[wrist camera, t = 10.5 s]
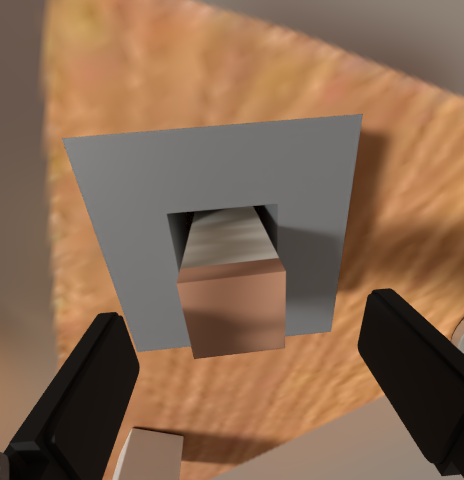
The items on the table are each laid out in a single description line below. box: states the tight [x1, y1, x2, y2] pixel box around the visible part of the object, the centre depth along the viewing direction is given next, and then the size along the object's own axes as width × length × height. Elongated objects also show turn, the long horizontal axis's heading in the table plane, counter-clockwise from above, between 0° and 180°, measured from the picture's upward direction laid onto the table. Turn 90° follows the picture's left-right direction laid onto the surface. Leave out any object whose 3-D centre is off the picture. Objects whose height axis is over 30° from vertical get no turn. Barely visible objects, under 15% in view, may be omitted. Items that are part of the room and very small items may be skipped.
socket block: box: [62, 114, 363, 352], centre depth 16 cm, size 14×14×6 cm
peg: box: [176, 206, 286, 359], centre depth 14 cm, size 4×4×11 cm
